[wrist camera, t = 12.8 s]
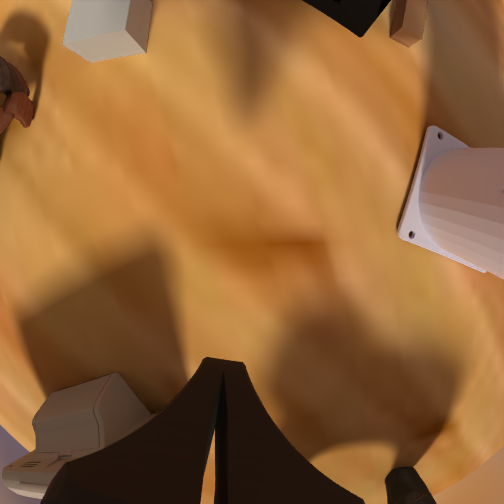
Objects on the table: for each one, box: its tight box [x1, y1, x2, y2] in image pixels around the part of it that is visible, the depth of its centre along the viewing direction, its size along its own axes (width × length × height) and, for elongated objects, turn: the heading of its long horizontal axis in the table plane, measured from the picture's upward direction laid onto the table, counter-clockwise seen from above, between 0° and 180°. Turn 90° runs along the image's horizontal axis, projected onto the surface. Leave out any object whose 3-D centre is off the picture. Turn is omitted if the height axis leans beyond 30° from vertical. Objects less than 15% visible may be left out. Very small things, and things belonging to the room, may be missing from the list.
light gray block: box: [63, 0, 153, 63], centre depth 14 cm, size 4×4×4 cm
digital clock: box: [2, 373, 158, 499], centre depth 18 cm, size 16×9×11 cm, turn 104°
